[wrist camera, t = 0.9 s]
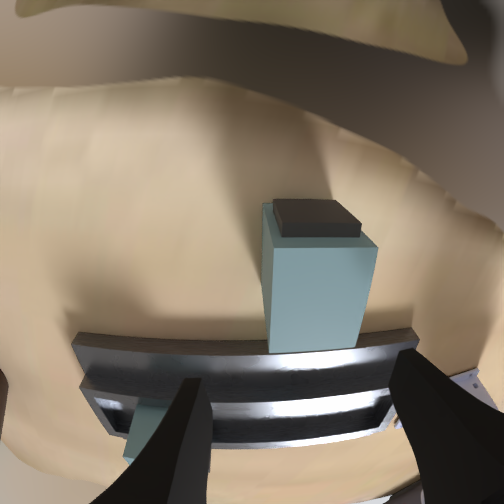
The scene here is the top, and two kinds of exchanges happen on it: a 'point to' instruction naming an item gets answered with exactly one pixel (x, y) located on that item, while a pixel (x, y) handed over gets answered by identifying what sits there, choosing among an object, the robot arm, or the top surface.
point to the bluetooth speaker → (407, 495)
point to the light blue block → (143, 430)
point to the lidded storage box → (314, 275)
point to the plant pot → (3, 398)
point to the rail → (247, 386)
